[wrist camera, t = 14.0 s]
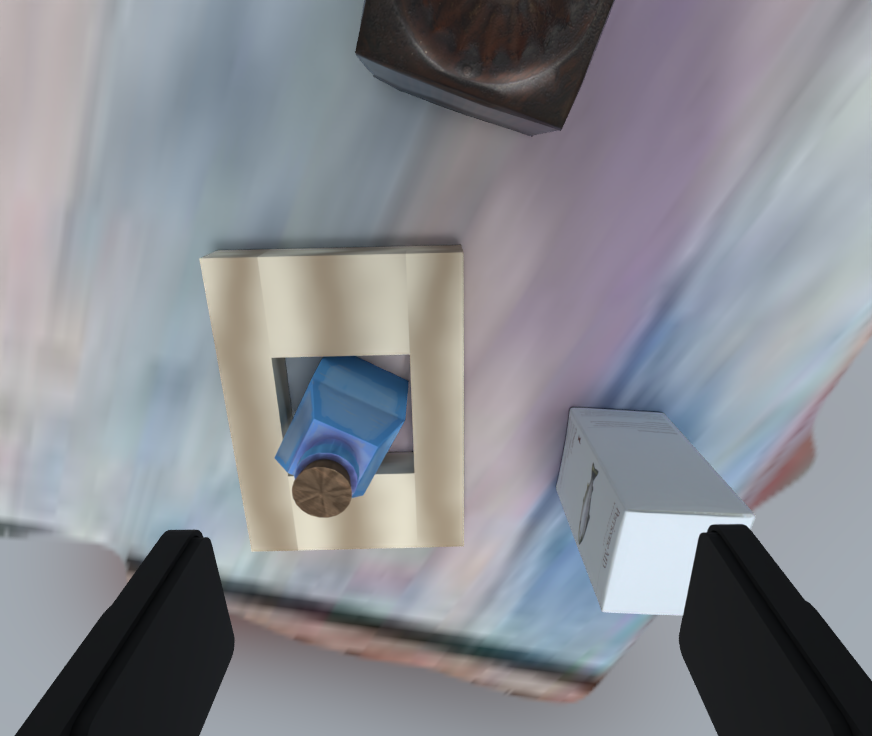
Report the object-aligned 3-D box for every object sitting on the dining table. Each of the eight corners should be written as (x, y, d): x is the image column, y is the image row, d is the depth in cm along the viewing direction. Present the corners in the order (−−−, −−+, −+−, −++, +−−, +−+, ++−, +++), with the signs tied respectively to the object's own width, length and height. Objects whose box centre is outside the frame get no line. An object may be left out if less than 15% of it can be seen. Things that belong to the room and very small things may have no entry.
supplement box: (567, 404, 40) (625, 507, 28) (665, 411, 40) (763, 515, 29) (551, 489, 43) (599, 615, 31) (644, 494, 43) (725, 622, 31)
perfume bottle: (408, 381, 39) (400, 470, 28) (372, 447, 41) (351, 556, 30) (329, 343, 38) (288, 422, 27) (296, 414, 40) (245, 514, 29)
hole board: (460, 245, 36) (463, 252, 33) (461, 521, 44) (463, 546, 41) (217, 250, 36) (199, 258, 33) (263, 526, 44) (251, 551, 41)
